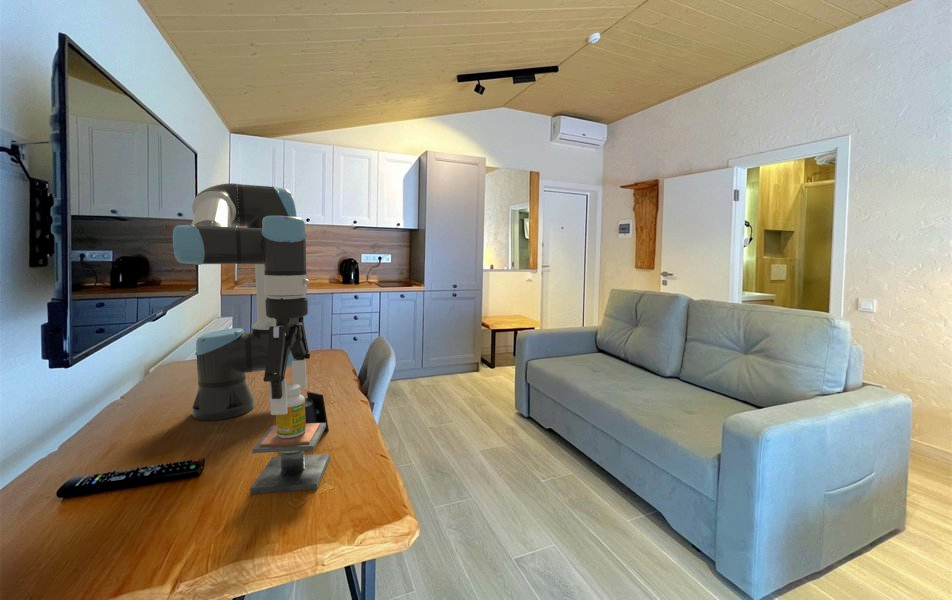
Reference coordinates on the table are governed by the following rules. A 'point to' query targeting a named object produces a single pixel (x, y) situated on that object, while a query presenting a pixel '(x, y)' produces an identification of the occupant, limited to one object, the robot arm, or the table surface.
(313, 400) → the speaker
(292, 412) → the supplement bottle
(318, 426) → the stand
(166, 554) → the table surface
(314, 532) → the table surface
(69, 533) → the table surface
